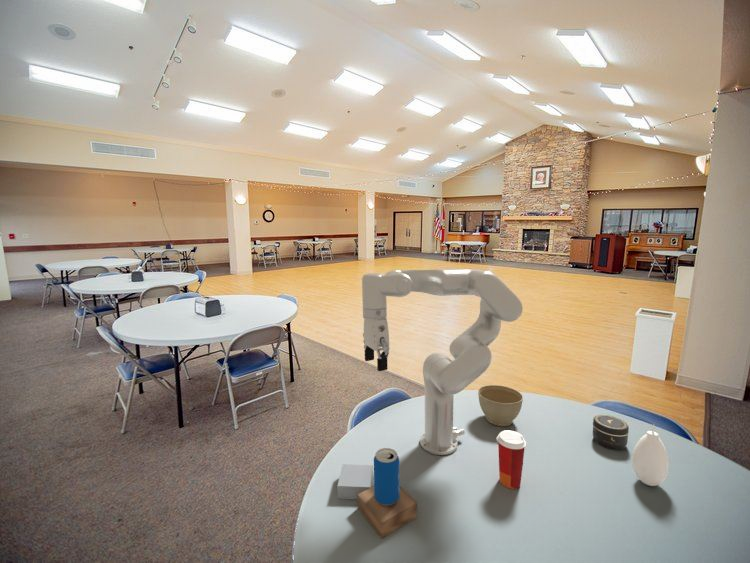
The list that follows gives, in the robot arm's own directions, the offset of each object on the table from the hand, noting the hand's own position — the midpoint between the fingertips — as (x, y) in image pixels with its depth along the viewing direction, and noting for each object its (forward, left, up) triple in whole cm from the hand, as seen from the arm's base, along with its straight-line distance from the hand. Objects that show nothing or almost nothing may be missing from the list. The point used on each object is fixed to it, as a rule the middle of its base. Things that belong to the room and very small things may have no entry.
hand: (375, 365), depth 109 cm
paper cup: (-29, +29, -31) cm, 51 cm away
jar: (-74, +29, -31) cm, 85 cm away
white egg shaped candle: (-64, +46, -30) cm, 84 cm away
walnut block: (+8, +24, -30) cm, 39 cm away
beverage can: (+8, +23, -26) cm, 36 cm away
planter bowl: (-51, +2, -31) cm, 60 cm away
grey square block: (+12, +12, -31) cm, 35 cm away
